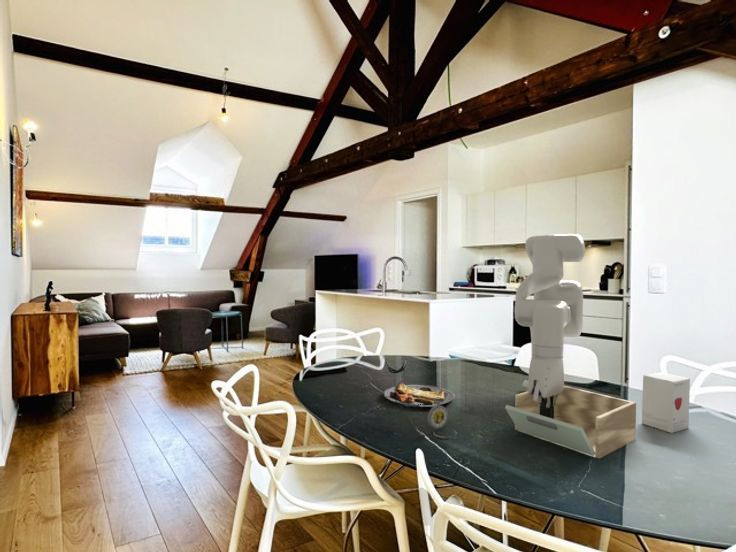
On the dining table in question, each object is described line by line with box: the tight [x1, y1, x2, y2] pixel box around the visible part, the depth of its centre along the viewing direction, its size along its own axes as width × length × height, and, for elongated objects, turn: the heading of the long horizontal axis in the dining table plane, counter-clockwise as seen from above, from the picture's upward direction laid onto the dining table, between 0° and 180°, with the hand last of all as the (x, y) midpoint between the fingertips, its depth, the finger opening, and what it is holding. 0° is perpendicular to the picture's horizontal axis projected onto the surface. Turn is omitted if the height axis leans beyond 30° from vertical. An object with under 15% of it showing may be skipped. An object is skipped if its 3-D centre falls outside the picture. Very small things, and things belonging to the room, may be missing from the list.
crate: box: [514, 385, 637, 460], centre depth 127 cm, size 24×20×11 cm
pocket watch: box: [427, 397, 458, 440], centre depth 130 cm, size 8×8×10 cm
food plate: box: [382, 382, 456, 408], centre depth 163 cm, size 25×23×4 cm
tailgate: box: [504, 404, 595, 457], centre depth 119 cm, size 21×2×10 cm
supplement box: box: [641, 371, 691, 434], centre depth 136 cm, size 9×9×15 cm
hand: (546, 420), depth 119 cm, fingers closed
